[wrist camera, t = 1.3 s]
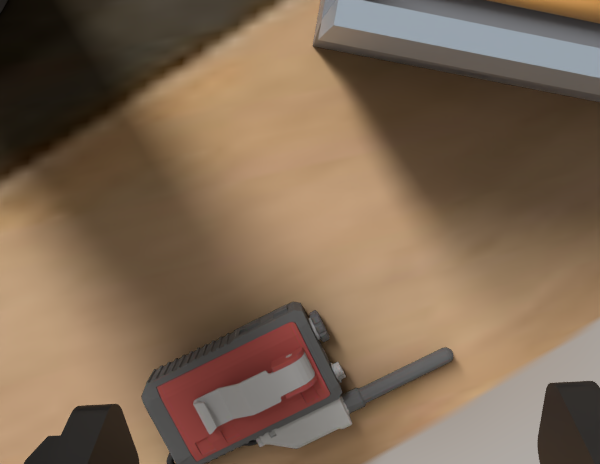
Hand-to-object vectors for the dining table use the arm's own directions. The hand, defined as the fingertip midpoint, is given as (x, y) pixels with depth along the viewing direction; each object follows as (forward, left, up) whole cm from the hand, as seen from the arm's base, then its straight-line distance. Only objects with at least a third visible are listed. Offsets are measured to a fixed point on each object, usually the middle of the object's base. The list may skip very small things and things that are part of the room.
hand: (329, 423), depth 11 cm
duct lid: (+1, +16, -15) cm, 23 cm away
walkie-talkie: (+7, -5, -27) cm, 29 cm away
